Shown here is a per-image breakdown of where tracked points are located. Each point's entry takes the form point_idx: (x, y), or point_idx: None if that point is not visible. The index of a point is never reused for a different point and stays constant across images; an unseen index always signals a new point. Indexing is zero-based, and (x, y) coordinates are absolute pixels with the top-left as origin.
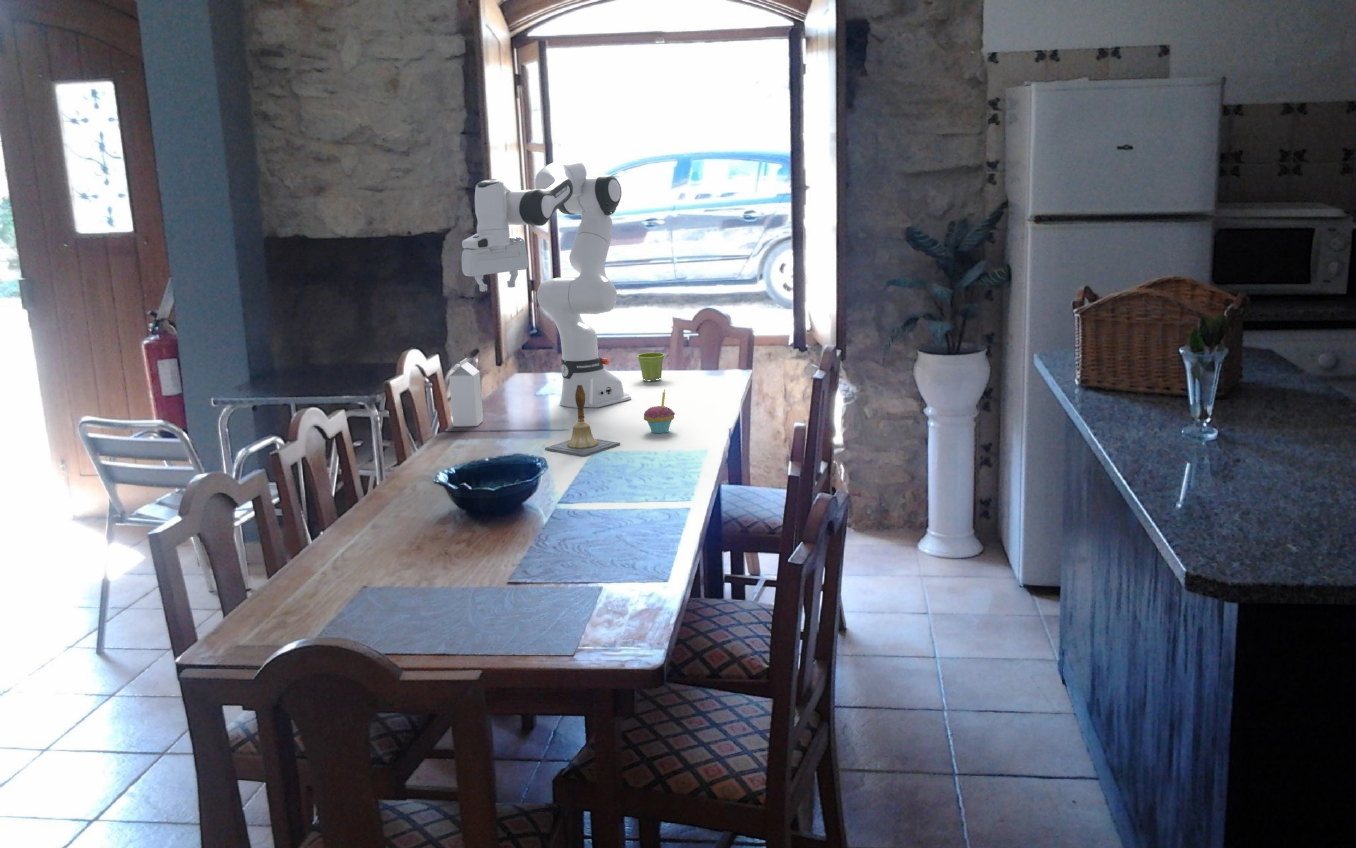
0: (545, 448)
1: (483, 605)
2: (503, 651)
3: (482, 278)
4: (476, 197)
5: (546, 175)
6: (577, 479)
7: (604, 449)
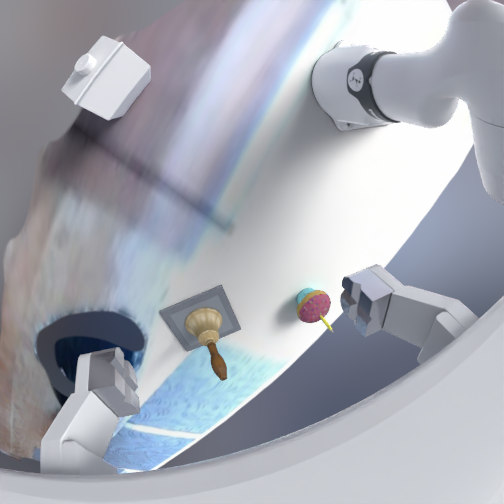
0: (160, 312)
1: None
2: None
3: (109, 469)
4: None
5: None
6: (154, 395)
7: None
